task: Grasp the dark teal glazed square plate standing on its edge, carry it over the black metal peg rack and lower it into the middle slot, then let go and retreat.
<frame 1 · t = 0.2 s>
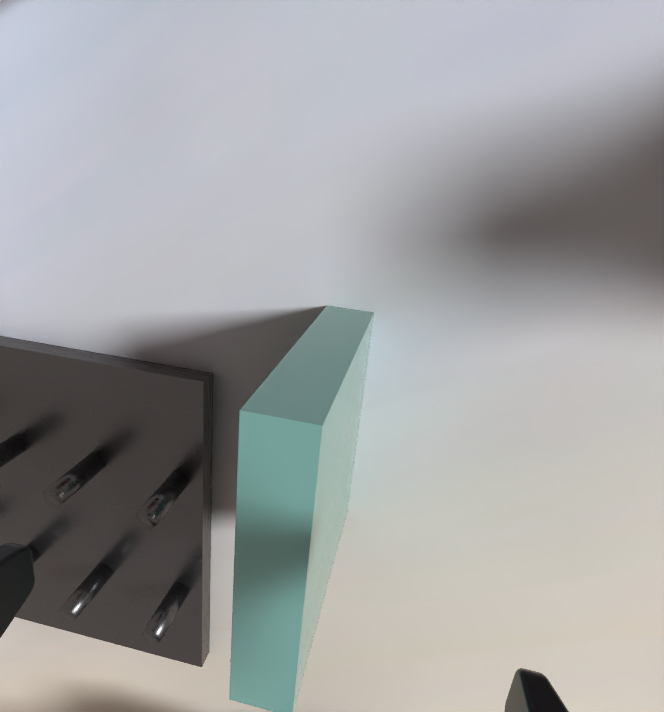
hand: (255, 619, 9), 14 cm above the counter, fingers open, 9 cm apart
dish rack: (74, 499, 27), on the counter
teal plate: (338, 415, 23), on the counter
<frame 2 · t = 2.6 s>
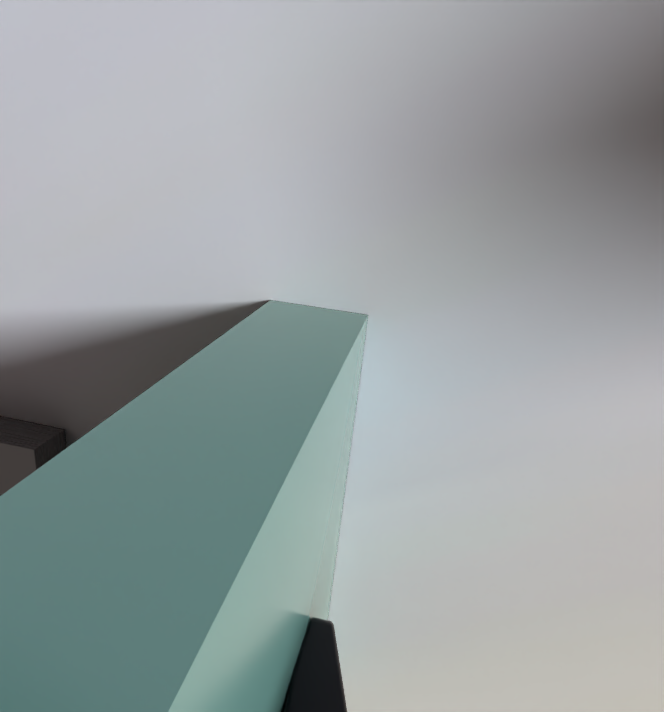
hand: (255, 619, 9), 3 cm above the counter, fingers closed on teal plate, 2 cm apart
teal plate: (298, 513, 12), on the counter, touching gripper
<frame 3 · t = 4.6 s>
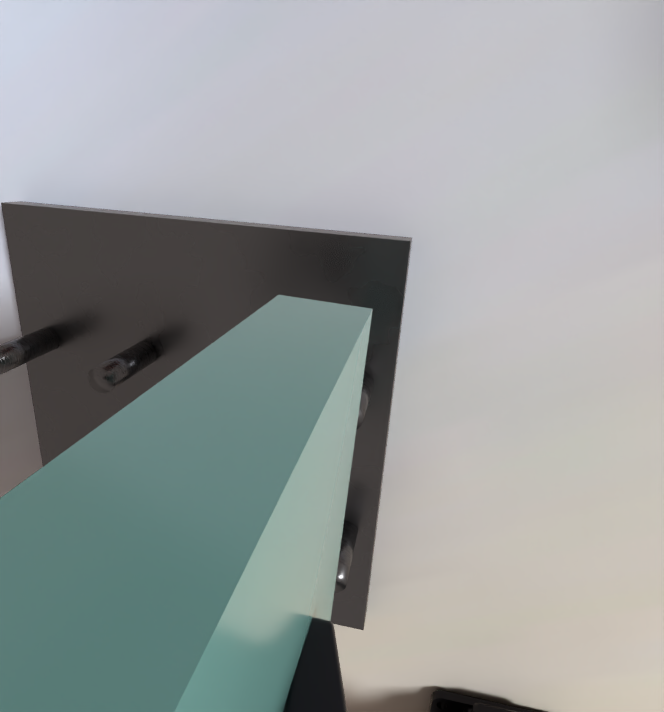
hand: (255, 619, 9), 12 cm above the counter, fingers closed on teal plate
dish rack: (208, 424, 22), on the counter
teal plate: (304, 501, 12), point 9 cm above the counter, touching gripper
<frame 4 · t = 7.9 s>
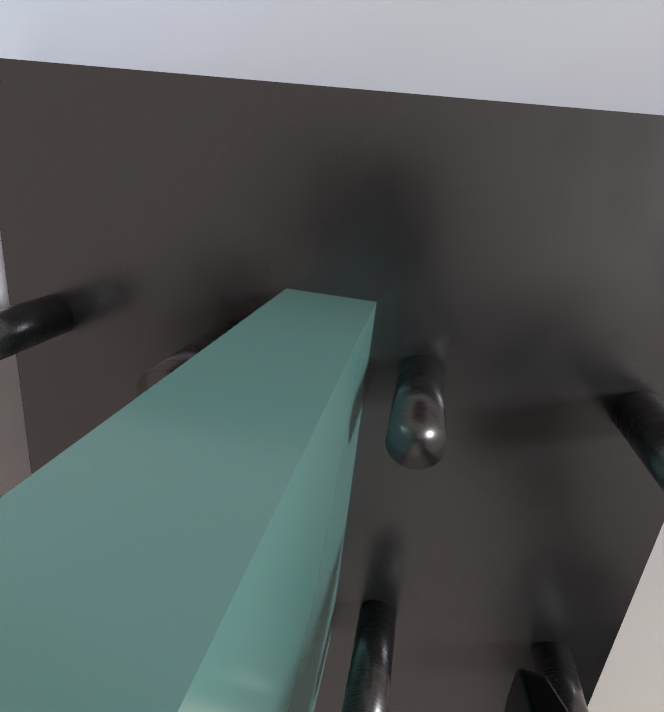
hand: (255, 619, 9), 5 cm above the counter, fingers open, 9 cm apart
dish rack: (316, 467, 13), on the counter
teal plate: (310, 488, 13), point 1 cm above the counter, touching dish rack
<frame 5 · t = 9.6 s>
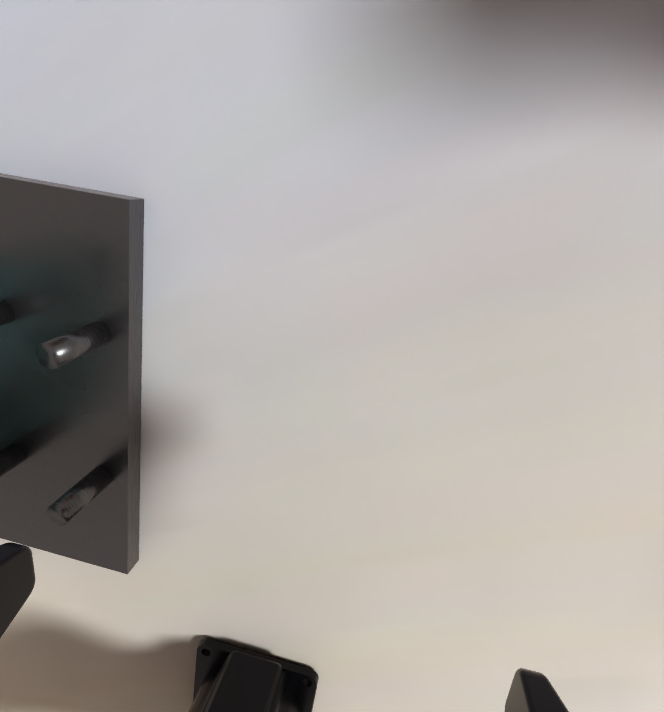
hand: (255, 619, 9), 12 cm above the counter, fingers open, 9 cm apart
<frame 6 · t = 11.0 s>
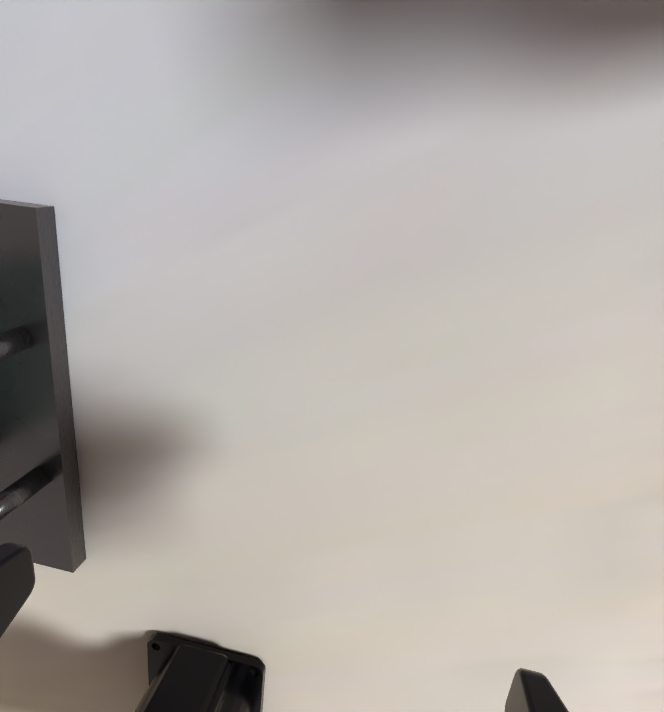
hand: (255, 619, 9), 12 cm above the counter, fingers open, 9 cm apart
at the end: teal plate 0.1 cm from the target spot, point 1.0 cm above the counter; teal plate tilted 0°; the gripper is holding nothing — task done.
